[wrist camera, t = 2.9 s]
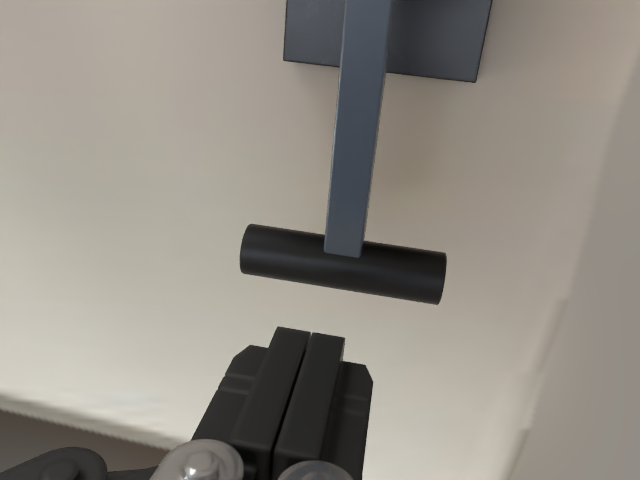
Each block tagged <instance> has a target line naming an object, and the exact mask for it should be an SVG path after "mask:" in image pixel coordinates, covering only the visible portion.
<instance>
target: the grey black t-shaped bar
mask: <svg viewBox="0 0 640 480" xmlns="http://www.w3.org/2000/svg"><path fill="white" fill-rule="evenodd" d="M394 7H395V0H346V2H345V13H344V24H343V36H342V47H341V59H340V70H339V82H338V93H337V104H336V116H335V127H334V139H333V150H332V162H331V173H330V184H329V196H328V207H327V219H326V230H325V235H323V234H316V233H309V232H303V231H296V230H290V229H283V228H276V227H270V226H263V225H256V224H250V225H248V227H247V228H246V231H245V233H244V236H243V239H242V244H241V250H240V269H241V272H242V273H243V274H249V275H255V276H261V277H267V278H274V279H280V280H286V281H292V282H298V283H305V284H311V285H317V286H323V287H330V288H336V289H342V290H348V291H354V292H361V293H367V294H373V295H379V296H385V297H392V298H398V299H404V300H410V301H416V302H423V303H429V304H435V305H438V304H439V302H440V300H441V297H442V292H443V288H444V282H445V275H446V264H447V257H446V253H443V252H436V251H429V250H423V249H416V248H409V247H403V246H396V245H389V244H383V243H376V242H369V241H364V238H365V231H366V223H367V215H368V208H369V200H370V192H371V184H372V177H373V169H374V161H375V154H376V146H377V138H378V131H379V123H380V115H381V107H382V100H383V92H384V84H385V77H386V69H387V61H388V53H389V46H390V38H391V30H392V23H393V15H394Z"/></svg>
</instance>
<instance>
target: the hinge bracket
mask: <svg viewBox="0 0 640 480" xmlns="http://www.w3.org/2000/svg"><path fill="white" fill-rule="evenodd" d="M492 1H493V0H395V7H394V15H393V23H392V30H391V38H390V46H389V53H388V61H387V69H386V73H394V74H402V75H411V76H420V77H429V78H437V79H446V80H455V81H464V82H472V83H475V82H476V80H477V75H478V70H479V65H480V60H481V55H482V50H483V45H484V40H485V35H486V30H487V25H488V20H489V15H490V10H491V5H492ZM345 2H346V0H287V3H286V20H285V37H284V54H283V60H284V61H289V62H298V63H306V64H315V65H324V66H333V67H340V59H341V47H342V36H343V24H344V13H345Z"/></svg>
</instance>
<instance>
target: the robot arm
mask: <svg viewBox="0 0 640 480" xmlns="http://www.w3.org/2000/svg"><path fill="white" fill-rule="evenodd" d="M344 345H345V338H343V337H338V336H332V335H326V334H320V333H314V332H313V333H312V335H311V333H310V332H307V331H302V330H296V329H290V328H284V327H277V329H276V331H275V333H274V336H273V338H272V340H271V342H270V345H269V347H268V348H265V347H259V346H253V345H250V346H248V347H247V348H246V349H244V350H243V351H242V352H240V353H239V354H238V355H236V356H235V357H234V358H233V360H232V362H231V364H230V366H229V367H228V369H227V371H226V373H225V377H223V379H222V381H221V383H220V385H219V387H218V390H217V391H216V393H215V395H214V396H213V398H212V400H211V402H210V404H209V406H208V408H207V410H206V412H205V414H204V416H203V418H202V420H201V422H200V423H199V425H198V427H197V429H196V431H195V433H194V435H193V437H192V439H191V441H189V442H186V443H183V444H181V445H179V446H177V447H176V448H174V449H173V450H171V451H170V452H169V453H168V454H167V455H166V456H165V458H164V459H163V460H162V462H161V463H160V465H158V466H155V467H151V468H147V469H140V470H126V471H113V472H107V467H106V463H105V461H104V459H103V458H102V457H101V456H100V455H98V454H97V453H96V452H94V451H92V450H90V449H86V448H80V447H66V448H60V449H56V450H52V451H50V452H47V453H45V454H42V455H40V456H38V457H35V458H33V459H31V460H29V461H26V462H24V463H22V464H20V465H17V466H15V467H13V468H10V469H8V470H6V471H4V472H1V473H0V480H362V471H363V463H364V454H365V446H366V438H367V429H368V421H369V413H370V404H371V396H372V388H373V381H372V378H371V376H370V374H369V372H368V370H367V368H366V365H363V364H357V363H351V362H345V361H343V353H344Z"/></svg>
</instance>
